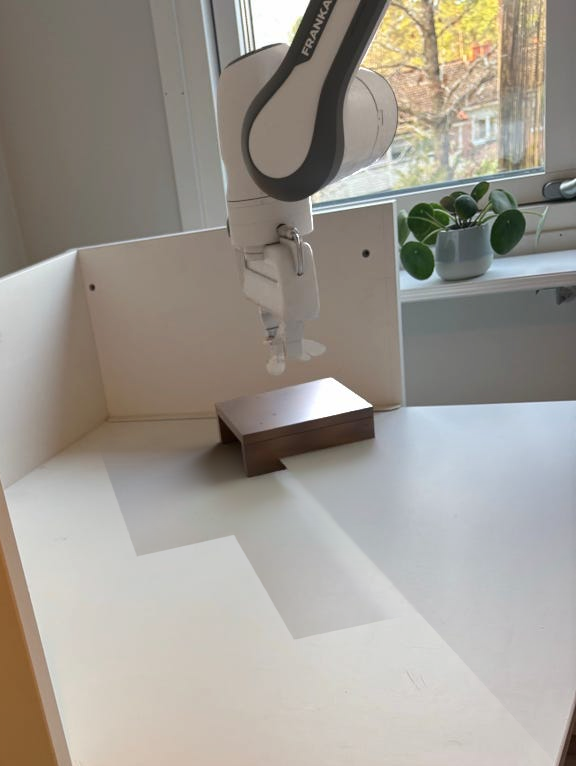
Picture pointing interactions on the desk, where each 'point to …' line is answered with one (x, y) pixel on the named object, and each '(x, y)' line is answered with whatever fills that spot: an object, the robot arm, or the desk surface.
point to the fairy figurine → (277, 363)
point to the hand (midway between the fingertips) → (283, 349)
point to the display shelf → (293, 422)
